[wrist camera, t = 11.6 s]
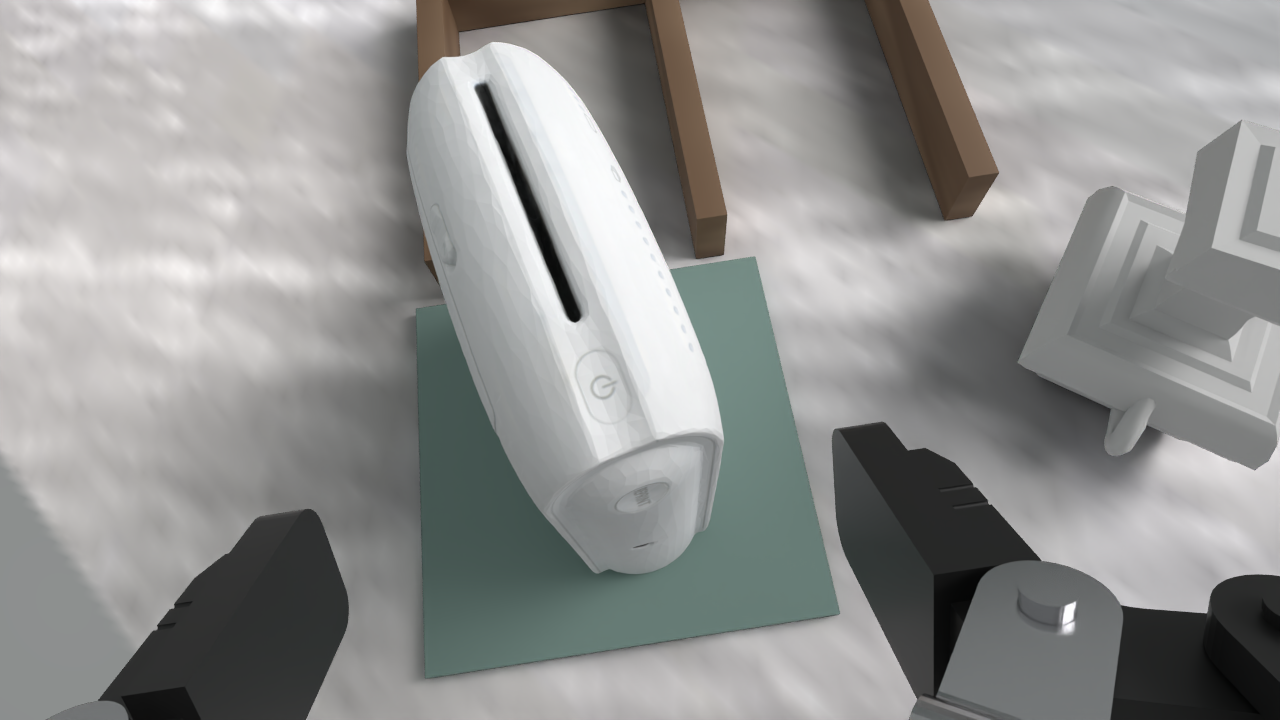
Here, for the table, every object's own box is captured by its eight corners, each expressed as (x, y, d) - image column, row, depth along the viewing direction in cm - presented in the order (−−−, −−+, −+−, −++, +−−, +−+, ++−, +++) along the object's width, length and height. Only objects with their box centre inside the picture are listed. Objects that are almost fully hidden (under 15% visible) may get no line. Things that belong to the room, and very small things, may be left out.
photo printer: (728, 546, 22) (771, 407, 11) (594, 602, 22) (493, 518, 11) (608, 270, 26) (547, -42, 15) (492, 313, 26) (339, 26, 15)
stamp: (1062, 213, 27) (1215, 22, 19) (1261, 290, 25) (1518, 115, 17) (973, 425, 24) (1110, 301, 16) (1191, 527, 22) (1459, 444, 14)
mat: (754, 262, 26) (755, 256, 26) (837, 615, 22) (840, 613, 21) (419, 313, 26) (415, 308, 26) (429, 678, 22) (424, 678, 21)
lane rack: (870, -49, 32) (887, -117, 29) (972, 216, 27) (1005, 163, 24) (434, 18, 32) (410, -44, 29) (446, 297, 27) (419, 253, 24)
